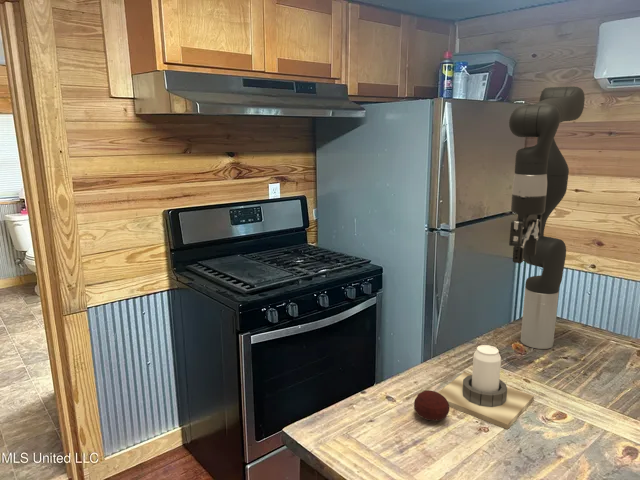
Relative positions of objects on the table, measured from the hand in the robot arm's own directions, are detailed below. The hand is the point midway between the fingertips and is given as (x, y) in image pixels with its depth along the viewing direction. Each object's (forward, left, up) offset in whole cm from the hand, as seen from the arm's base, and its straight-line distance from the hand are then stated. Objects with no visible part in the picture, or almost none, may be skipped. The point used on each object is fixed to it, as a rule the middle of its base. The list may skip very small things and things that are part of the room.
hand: (524, 258), depth 120 cm
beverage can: (+13, -2, -32) cm, 35 cm away
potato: (+28, -8, -33) cm, 45 cm away
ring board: (+13, -2, -33) cm, 36 cm away
